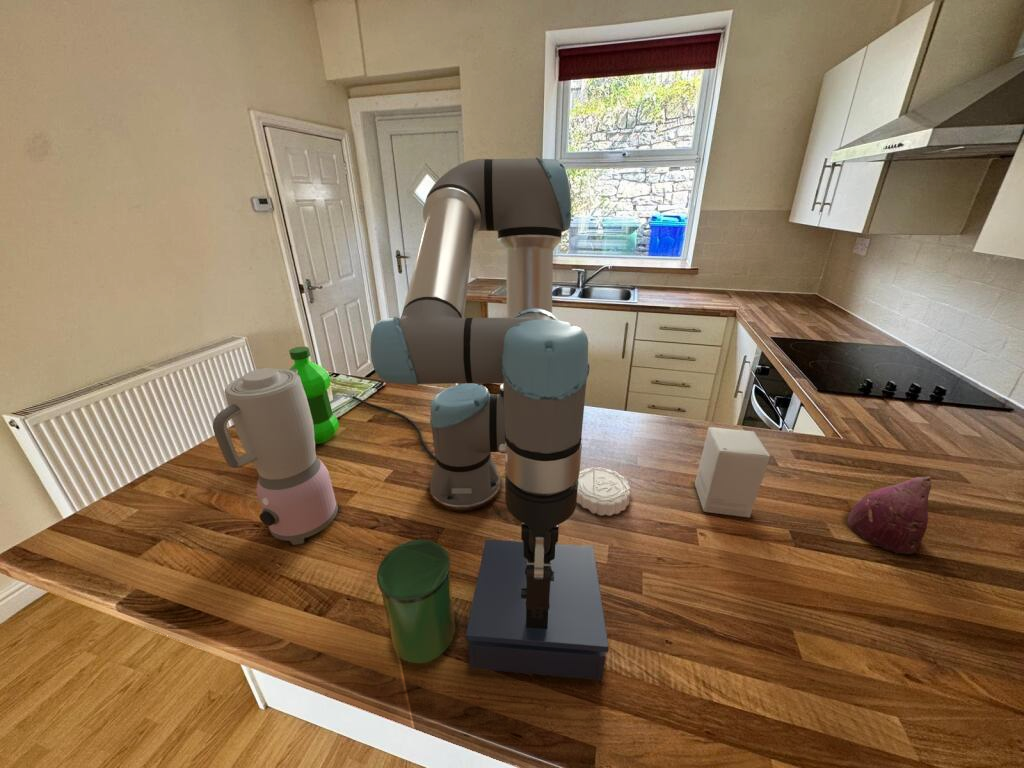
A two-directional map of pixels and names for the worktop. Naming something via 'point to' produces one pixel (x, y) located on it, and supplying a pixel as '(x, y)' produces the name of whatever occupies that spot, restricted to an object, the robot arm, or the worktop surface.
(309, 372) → the plastic bottle
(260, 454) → the blender
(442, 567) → the green pot
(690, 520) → the worktop surface
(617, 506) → the mooncake
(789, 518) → the worktop surface
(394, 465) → the worktop surface
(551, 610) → the chest lid
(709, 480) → the rectangular carton
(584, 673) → the chest
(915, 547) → the vegetable
